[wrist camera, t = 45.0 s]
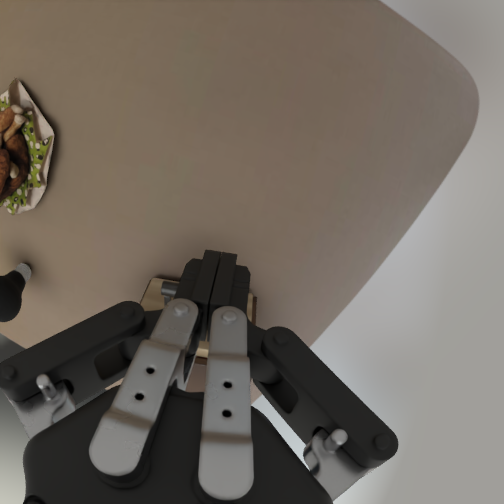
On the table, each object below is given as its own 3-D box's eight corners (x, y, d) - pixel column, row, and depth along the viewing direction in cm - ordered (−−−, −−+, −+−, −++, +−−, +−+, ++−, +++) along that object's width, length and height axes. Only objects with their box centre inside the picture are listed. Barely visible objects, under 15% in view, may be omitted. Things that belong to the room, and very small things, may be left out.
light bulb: (11, 267, 36) (-26, 311, 28) (16, 241, 34) (-26, 287, 25) (39, 290, 38) (6, 338, 30) (47, 265, 35) (8, 316, 27)
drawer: (151, 244, 32) (122, 300, 25) (259, 261, 33) (257, 324, 25) (157, 351, 42) (142, 403, 34) (237, 364, 42) (232, 419, 35)
